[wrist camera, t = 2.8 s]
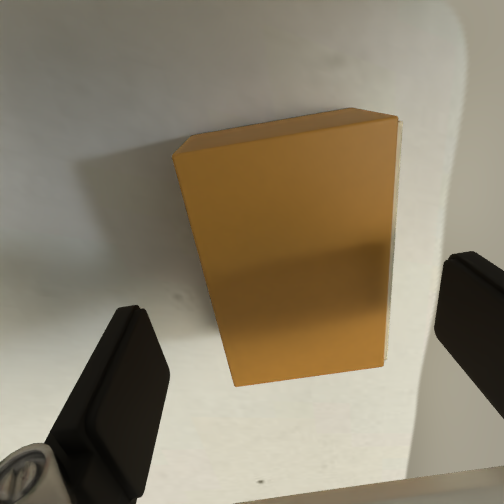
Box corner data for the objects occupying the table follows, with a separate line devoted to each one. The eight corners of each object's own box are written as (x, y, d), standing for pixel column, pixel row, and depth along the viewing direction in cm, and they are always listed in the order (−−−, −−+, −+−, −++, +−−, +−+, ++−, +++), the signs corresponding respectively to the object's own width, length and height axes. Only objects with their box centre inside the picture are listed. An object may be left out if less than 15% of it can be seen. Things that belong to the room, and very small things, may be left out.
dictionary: (190, 135, 12) (170, 154, 9) (358, 106, 12) (407, 113, 9) (235, 325, 17) (234, 388, 14) (357, 307, 17) (388, 366, 13)
